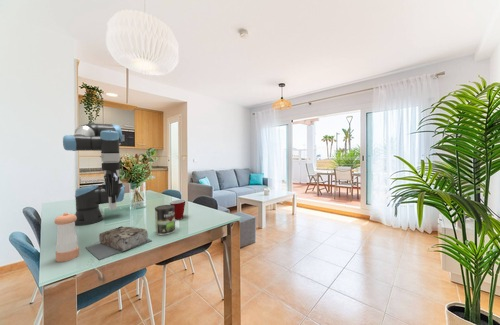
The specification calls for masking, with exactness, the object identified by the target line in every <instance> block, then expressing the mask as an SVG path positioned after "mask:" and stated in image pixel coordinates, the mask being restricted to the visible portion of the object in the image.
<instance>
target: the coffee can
mask: <svg viewBox="0 0 500 325" xmlns="http://www.w3.org/2000/svg"><path fill="white" fill-rule="evenodd" d="M154 210H155V211H154V218H155V220H154V222H155V235H158V236H166V235H171V234H173V233H174V232H176V219H175V206H174V205H170V204H163V205H157V206H155V207H154Z"/></svg>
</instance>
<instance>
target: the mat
mask: <svg viewBox="0 0 500 325" xmlns="http://www.w3.org/2000/svg"><path fill="white" fill-rule="evenodd" d="M150 242H152V239H150V238H148V237H147V241H146V242H144V243H141V244H139V245H136V246H134V247H132V248H130V249H127V250H125V251H120V250H118V249H115V248H112V247H110V246H107V245H105V244H102V243H100V242H99V243H95V244H93V245H89V246H86V247H85V249H86V251H87V252H89V253H90V254H91V255H92V256H94V257H95V258H96V259H97V260H98V261H101V260H105V259H106V258H110V257H113V256H115V255H117V254H120V253H123V252H127V251H128V250H133V249H135V248H137V247H140V246H142V245H145V244H147V243H150Z"/></svg>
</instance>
